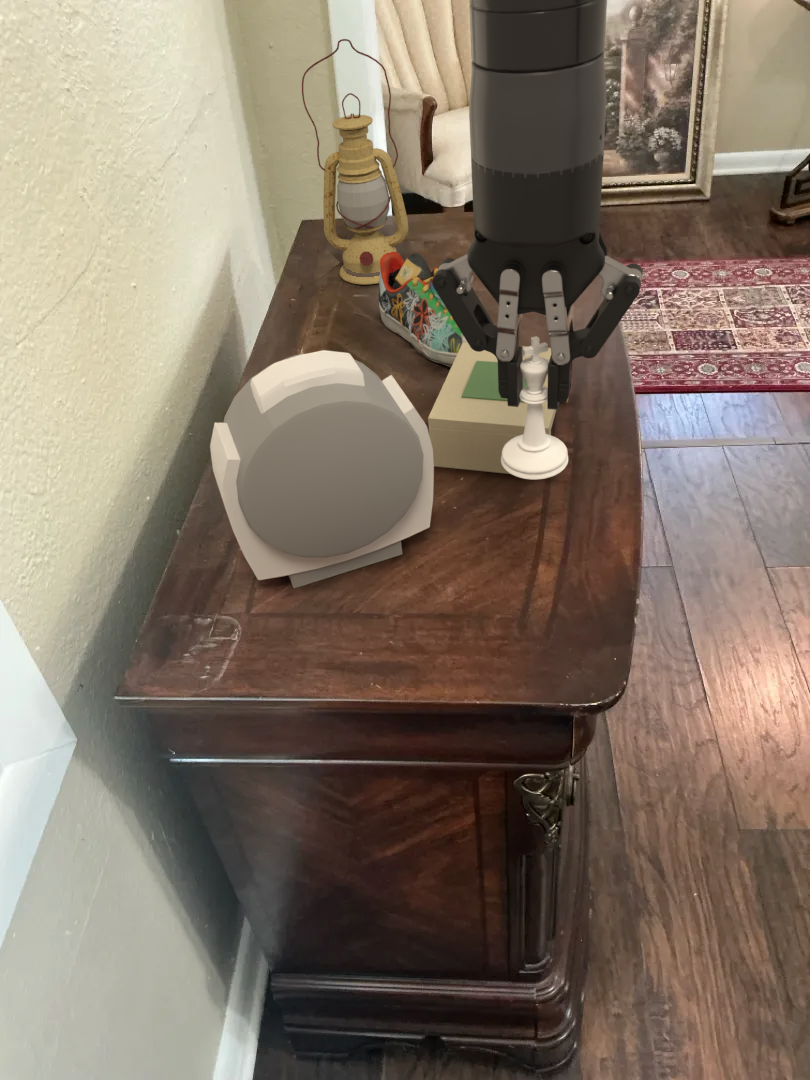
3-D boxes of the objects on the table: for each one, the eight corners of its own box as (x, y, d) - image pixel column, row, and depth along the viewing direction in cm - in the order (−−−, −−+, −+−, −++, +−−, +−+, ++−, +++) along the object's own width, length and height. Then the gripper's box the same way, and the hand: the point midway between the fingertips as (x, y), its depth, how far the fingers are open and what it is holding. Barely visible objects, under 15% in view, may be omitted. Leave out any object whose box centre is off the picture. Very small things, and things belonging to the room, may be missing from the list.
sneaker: (471, 385, 100) (466, 308, 94) (364, 326, 114) (354, 254, 107) (519, 361, 103) (517, 284, 97) (409, 306, 117) (402, 235, 110)
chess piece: (580, 469, 62) (586, 346, 56) (517, 487, 62) (515, 364, 55) (550, 433, 66) (553, 314, 59) (490, 450, 65) (486, 330, 59)
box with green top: (569, 396, 97) (571, 347, 93) (547, 478, 86) (548, 426, 82) (464, 388, 100) (462, 340, 96) (432, 466, 89) (427, 416, 85)
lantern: (327, 290, 122) (288, 54, 102) (333, 260, 130) (298, 34, 110) (411, 284, 121) (389, 44, 101) (412, 254, 129) (392, 25, 109)
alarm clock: (414, 500, 85) (394, 314, 72) (446, 553, 79) (431, 360, 66) (238, 554, 82) (181, 368, 69) (257, 613, 76) (199, 422, 62)
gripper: (402, 167, 48) (426, 424, 60) (658, 167, 45) (631, 441, 56) (435, 124, 54) (451, 368, 65) (666, 120, 50) (641, 380, 61)
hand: (535, 401), depth 60 cm, fingers closed on chess piece
